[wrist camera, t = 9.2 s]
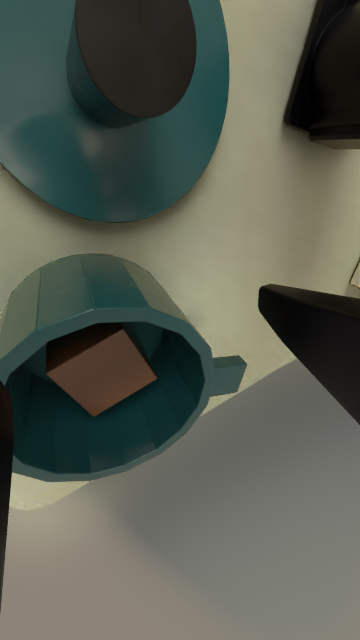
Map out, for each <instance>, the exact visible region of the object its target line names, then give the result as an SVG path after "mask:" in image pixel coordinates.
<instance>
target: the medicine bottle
mask: <svg viewBox="0 0 360 640" xmlns="http://www.w3.org/2000/svg"><path fill="white" fill-rule="evenodd" d="M351 284H352V285H353V286H355V287H357V288H360V262H359V264H358V267H357V269H356V271H355V273H354V275H353V277H352V280H351Z"/></svg>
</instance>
